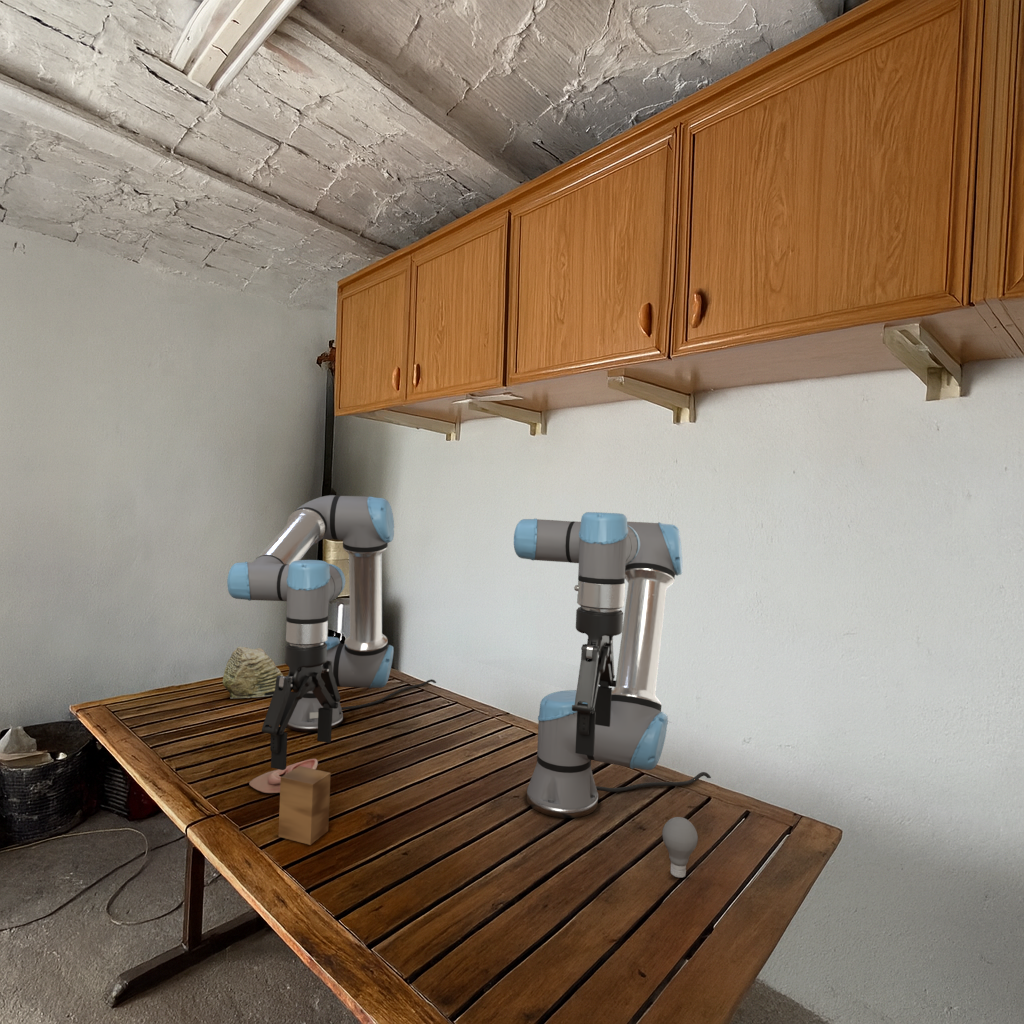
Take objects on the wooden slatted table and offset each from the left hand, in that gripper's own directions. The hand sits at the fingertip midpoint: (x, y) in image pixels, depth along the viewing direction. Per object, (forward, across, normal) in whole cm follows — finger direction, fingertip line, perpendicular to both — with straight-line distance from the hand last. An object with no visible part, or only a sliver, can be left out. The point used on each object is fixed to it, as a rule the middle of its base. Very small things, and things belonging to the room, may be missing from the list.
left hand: (302, 754), depth 120 cm
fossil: (+15, -61, -63) cm, 89 cm away
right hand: (-12, -1, +55) cm, 57 cm away
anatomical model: (+15, -15, -16) cm, 26 cm away
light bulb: (+14, -13, +69) cm, 72 cm away
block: (+14, +1, +2) cm, 15 cm away
